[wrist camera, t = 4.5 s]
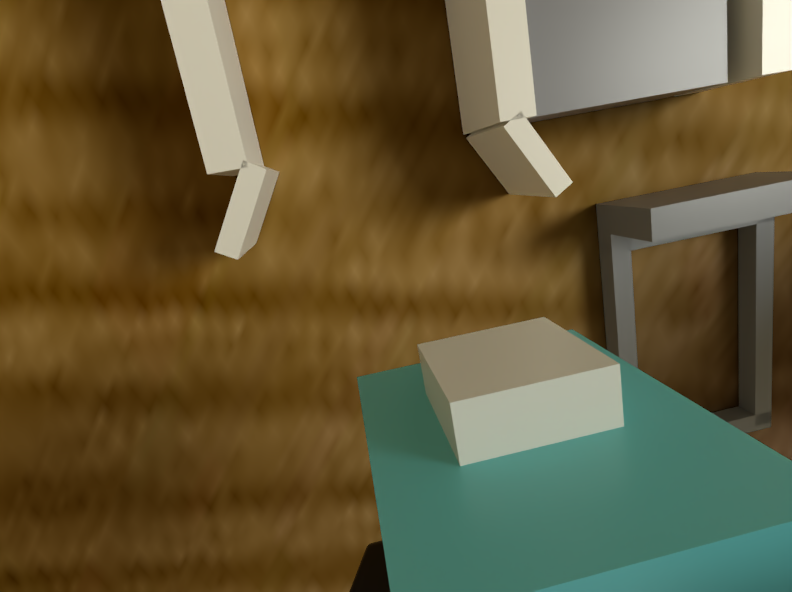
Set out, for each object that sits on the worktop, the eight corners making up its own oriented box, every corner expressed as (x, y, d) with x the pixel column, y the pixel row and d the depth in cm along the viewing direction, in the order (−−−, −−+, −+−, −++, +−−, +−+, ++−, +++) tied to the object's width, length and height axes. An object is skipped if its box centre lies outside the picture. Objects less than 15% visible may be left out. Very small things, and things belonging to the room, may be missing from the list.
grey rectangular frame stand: (596, 204, 17) (650, 208, 14) (755, 172, 18) (839, 170, 15) (614, 452, 20) (664, 499, 17) (754, 417, 20) (825, 456, 17)
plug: (347, 334, 8) (376, 541, 4) (568, 287, 9) (867, 417, 4) (414, 644, 10) (494, 1069, 5) (596, 594, 10) (829, 949, 6)
